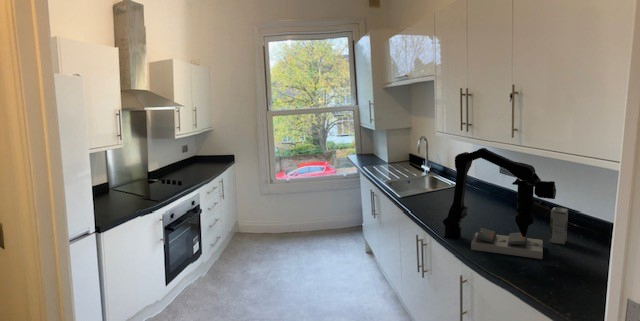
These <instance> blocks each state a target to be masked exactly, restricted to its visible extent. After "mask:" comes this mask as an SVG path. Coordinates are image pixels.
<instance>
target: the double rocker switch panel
mask: <svg viewBox="0 0 640 321" xmlns="http://www.w3.org/2000/svg"><path fill="white" fill-rule="evenodd" d="M478 233H479V232H475V234H474V235H473V238H472V240H471V241H470V240H463V243H464V244H470V250H472V251H479V252H487V253H488V252H489V253H495V254H501V255H509V256H518V257H524V258H525V257H526V258H530V259H531V258H532V259H538V260H539V259H540V260H543V258H544V257H543V253H544V252H543V250H544V249H543V245H544V244H543V239H539V238H538V239H537V238H529V237H526V239H525V244H508V239H509V235H502V234H495V235H494V238H493V241H492V242H489V241H486V240H483V239H479V238H477V235H478Z"/></svg>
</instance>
